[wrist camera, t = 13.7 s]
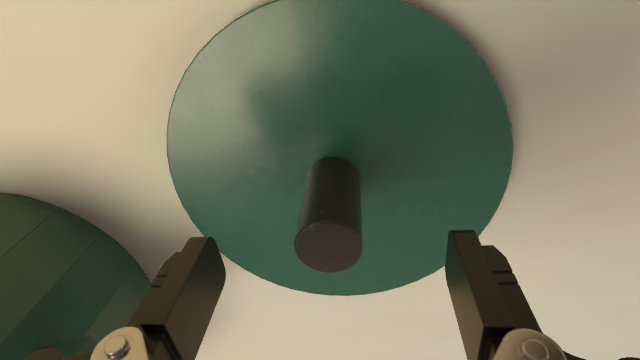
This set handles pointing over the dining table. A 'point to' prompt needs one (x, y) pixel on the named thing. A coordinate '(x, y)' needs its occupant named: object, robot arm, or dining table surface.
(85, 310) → the pot
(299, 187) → the lid
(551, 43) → the dining table surface
